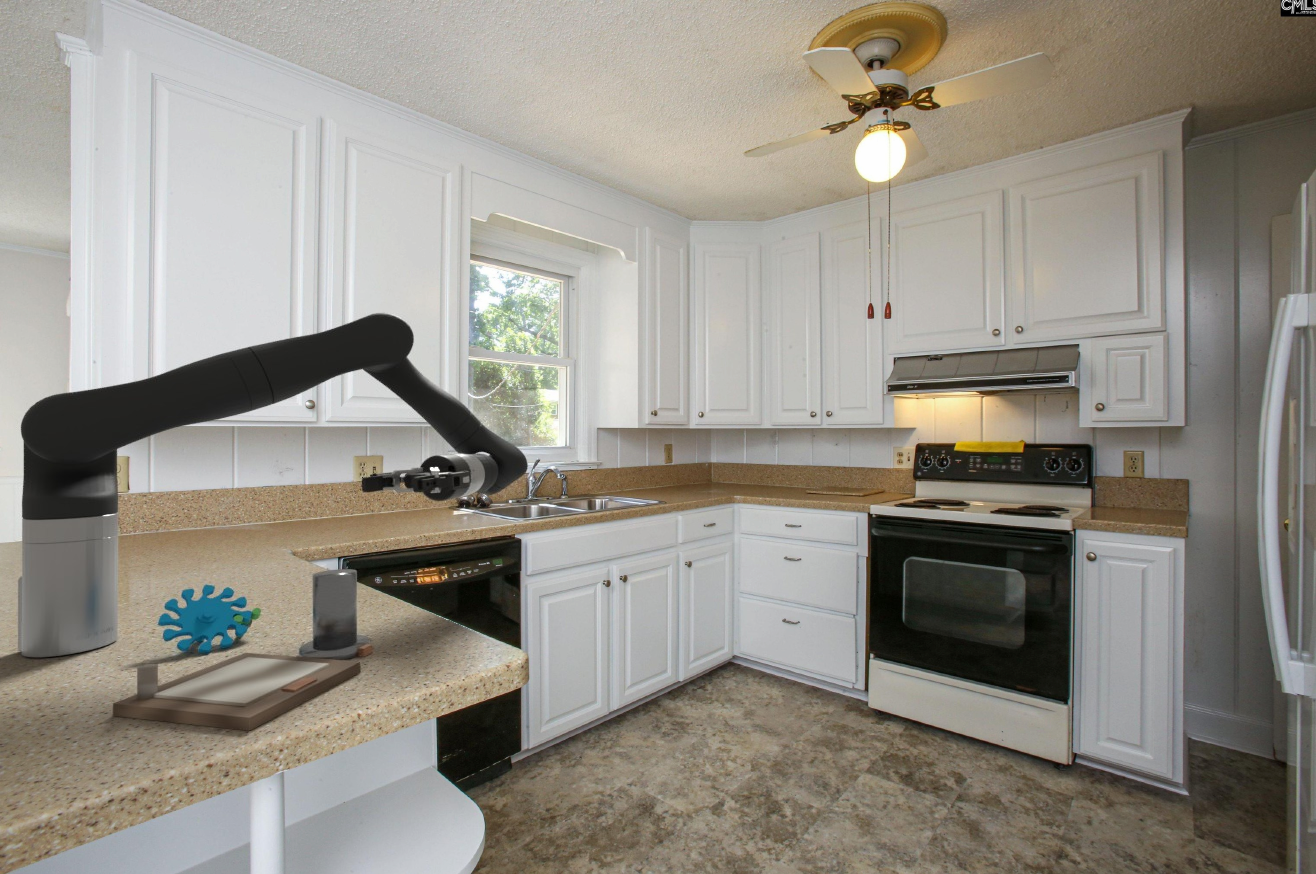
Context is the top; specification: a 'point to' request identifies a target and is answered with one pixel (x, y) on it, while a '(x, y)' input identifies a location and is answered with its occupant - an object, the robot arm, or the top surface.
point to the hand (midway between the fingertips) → (389, 485)
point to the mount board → (234, 690)
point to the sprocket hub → (335, 618)
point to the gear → (207, 619)
